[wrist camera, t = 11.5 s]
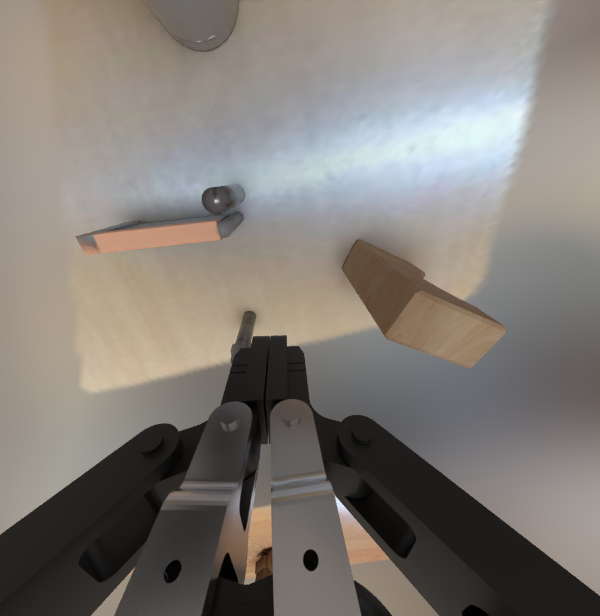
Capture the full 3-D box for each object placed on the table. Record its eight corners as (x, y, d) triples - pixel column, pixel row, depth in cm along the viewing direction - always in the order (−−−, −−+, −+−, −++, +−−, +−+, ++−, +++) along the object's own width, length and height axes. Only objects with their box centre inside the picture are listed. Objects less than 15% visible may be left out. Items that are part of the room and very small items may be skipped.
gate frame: (224, 184, 33) (197, 187, 23) (245, 184, 33) (227, 187, 23) (242, 321, 44) (229, 367, 33) (258, 321, 44) (249, 366, 33)
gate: (241, 209, 34) (228, 219, 26) (244, 224, 35) (232, 238, 27) (126, 222, 34) (75, 236, 25) (132, 236, 35) (85, 255, 26)
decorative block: (413, 264, 40) (512, 330, 23) (393, 292, 43) (469, 372, 25) (357, 237, 38) (422, 288, 20) (340, 268, 40) (384, 339, 22)
